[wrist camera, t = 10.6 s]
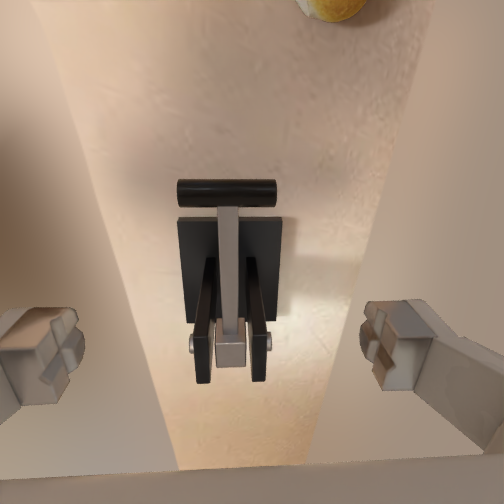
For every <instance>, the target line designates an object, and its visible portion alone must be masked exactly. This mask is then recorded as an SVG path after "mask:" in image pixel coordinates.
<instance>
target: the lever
mask: <svg viewBox="0 0 504 504" xmlns="http://www.w3.org/2000/svg"><path fill="white" fill-rule="evenodd" d="M177 200H178V205H179V207H217V214H218V237H219V260H220V282H221V305H222V318H216V327H215V356H216V367H217V368H227V367H246V324H245V318H238V207H275V206H276V201H277V184H276V180H275V179H179V180H178V182H177Z"/></svg>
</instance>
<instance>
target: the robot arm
mask: <svg viewBox="0 0 504 504" xmlns="http://www.w3.org/2000/svg"><path fill="white" fill-rule="evenodd" d="M364 314H365V316H366V318H367V320H366V321H365V322H364V323H363V324H362V325H361V328H360V333H359V336H360V346H361V349H362V352H363V354H364V356H365V358H366V359H367V360H369V361H370V362H372V363H373V368H372V372H373V374H374V376H375V378H376V380H377V381H378V383H379V385H380V387H381V389H382V391H406V390H408V391H409V390H414V393H416V394H417V395H418V396H419V397H420V398H421V399H423V400H424V401H425V402H426V403H427V404H429V405H430V406H431V407H432V408H433V409H435V410H436V411H437V412H438V413H439V414H441V415H442V416H443V417H444V418H445V419H446V420H448V421H449V422H450V423H451V424H452V425H454V426H455V427H456V428H457V429H459V430H460V431H461V432H462V433H463V434H464V435H466V436H467V437H468V438H469V439H470V440H472V441H473V442H474V443H475V444H476V445H478V446H479V447H480V448H481V449H482V450H484V452H483V454H482V455H464V456H445V457H426V458H408V459H407V458H406V459H388V460H370V461H351V462H333V463H316V464H297V465H278V466H260V467H240V468H221V469H202V470H182V471H163V472H144V473H124V474H105V475H87V476H68V477H50V478H49V477H48V478H30V479H11V480H0V504H504V356H503V355H501V354H498V353H497V352H494V351H493V350H490V349H488V348H486V347H484V346H482V345H480V344H478V343H476V342H474V341H472V340H470V339H468V338H466V337H458V335H457V334H456V333H455V332H454V331H453V330H452V329H451V328H450V327H449V326H448V325H447V324H446V323H445V322H444V321H443V320H442V319H441V318H440V317H439V316H438V315H437V314H436V313H435V311H434V310H433V309H432V308H431V307H430V306H429V305H428V304H427V303H426V302H425V301H423V300H421V299H411V300H401V301H369V302H368V303H367V304H366V306H365V310H364ZM78 320H79V318H78V316H77V313H76V310H75V309H73V308H70V307H69V308H68V307H65V308H63V307H61V308H60V307H58V308H57V307H53V308H52V307H51V308H50V307H45V308H44V307H43V308H42V307H40V308H39V307H36V308H35V307H34V308H12V309H9V310H7V311H6V312H5V313H4V314H3V315H2V316H1V317H0V425H1V424H2V423H3V422H5V421H6V420H7V419H8V418H9V417H11V416H12V415H13V414H14V413H16V412H17V411H18V410H19V409H20V408H21V406H27V405H43V404H57V403H58V401H59V400H60V398H61V396H62V394H63V392H64V391H65V389H66V387H67V386H68V384H69V382H70V379H69V376H68V374H69V373H71V372H72V371H74V370H75V369H77V368H78V366H79V365H80V363H81V361H82V359H83V355H84V351H85V339H84V335H83V332H81V331H80V330H79V329H78V328H76V327H75V326H76V324H77V322H78Z"/></svg>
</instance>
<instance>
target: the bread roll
mask: <svg viewBox="0 0 504 504" xmlns="http://www.w3.org/2000/svg"><path fill="white" fill-rule="evenodd" d="M296 2H297V3H298V5H299V7H300V8H301V10H302V12H303V13H304V14H305V15H306V16H307V17H309V18H316V19H320V20H323V21H326V22H339V21H342V20H345V19H347V18H350V17H352V16H353V15H354V14H356V13H357V12H358V11H359V10H360V9H361V8H362V7H363V5H364V4H365V2H366V0H296Z"/></svg>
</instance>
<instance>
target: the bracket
mask: <svg viewBox="0 0 504 504" xmlns="http://www.w3.org/2000/svg"><path fill="white" fill-rule="evenodd" d="M177 227H178V238H179V248H180V259H181V269H182V279H183V290H184V300H185V311H186V321H187V323H195V325H194V331H193V334H190V338H189V352H190V353H191V354H193V353H194V360H195V371H196V382H197V384H208V383H210V381H211V368H212V355H213V342H214V329H215V323H216V318H222V305H221V282H220V260H219V237H218V217H179V219H178V221H177ZM281 236H282V219H281V217H238V318H245V322H248V335H249V349H250V362H251V376H252V382H264V381H265V380H266V359H267V351H271V350H272V337H271V332H267V327H266V321H276V316H277V300H278V284H279V268H280V252H281Z"/></svg>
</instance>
